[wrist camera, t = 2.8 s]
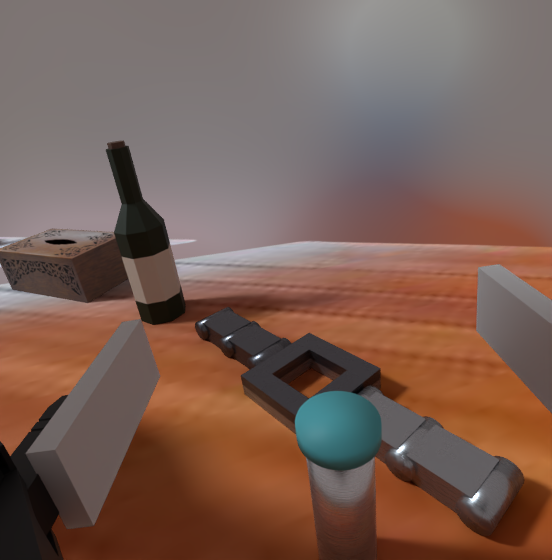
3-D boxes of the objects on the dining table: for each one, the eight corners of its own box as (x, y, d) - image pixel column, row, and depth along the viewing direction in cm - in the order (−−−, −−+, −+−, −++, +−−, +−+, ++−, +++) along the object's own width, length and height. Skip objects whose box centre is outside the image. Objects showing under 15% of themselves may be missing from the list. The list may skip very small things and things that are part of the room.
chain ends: (472, 572, 30) (475, 548, 29) (180, 344, 63) (176, 328, 62) (535, 471, 37) (540, 448, 35) (241, 312, 70) (238, 297, 68)
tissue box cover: (138, 273, 92) (126, 232, 88) (88, 303, 81) (71, 258, 77) (65, 265, 104) (51, 228, 100) (12, 290, 93) (-6, 250, 88)
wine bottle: (193, 312, 72) (150, 138, 59) (148, 330, 68) (91, 148, 55) (177, 296, 78) (135, 136, 65) (135, 312, 75) (82, 145, 62)
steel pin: (352, 619, 28) (341, 473, 22) (300, 561, 32) (277, 422, 26) (397, 561, 31) (399, 418, 25) (344, 515, 35) (333, 380, 29)
